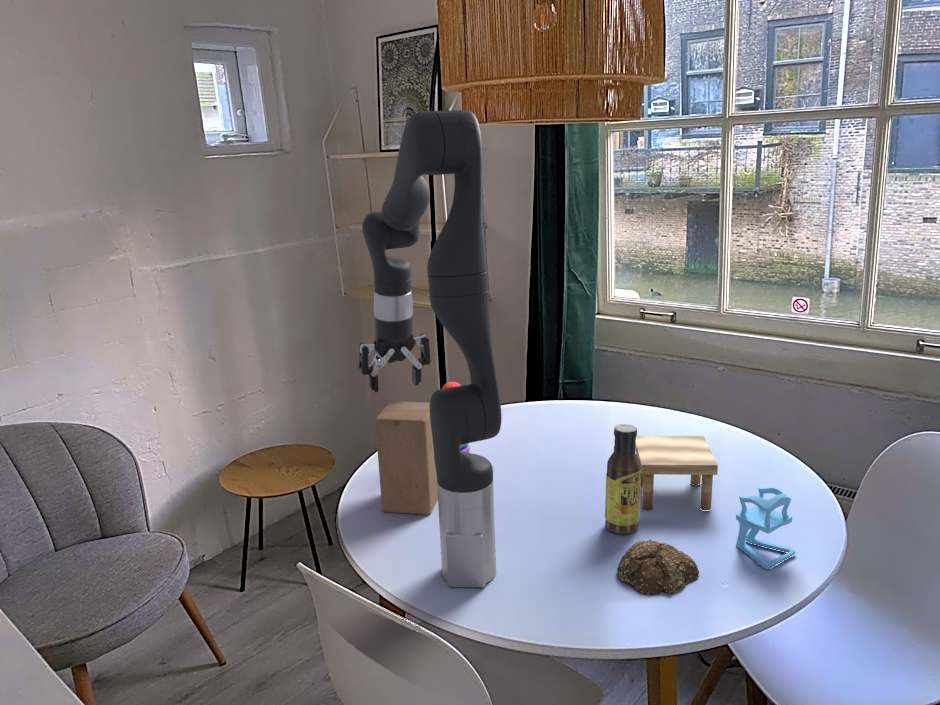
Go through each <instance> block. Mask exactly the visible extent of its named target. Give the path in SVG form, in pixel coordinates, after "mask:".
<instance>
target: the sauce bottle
mask: <svg viewBox="0 0 940 705" xmlns="http://www.w3.org/2000/svg"><path fill="white" fill-rule="evenodd" d="M613 436H614V440H613V442H614V446H613V452H611V453H612V454H611V455H610V456H609V458H608V459H607V465H606V474H605V477H606V478H605V502H604V504H605V506H604V518H605V522H604V523H605V524H604V525H605V528H606V529H607V530H608V531H610V532H612V533H615V534H618V535H619V534H621V535H625V534H626V535H627V534H632V533H634V532H636V530H637V529H638V528H639V521H640V510H641V509H640V508H641V504H640V503H641V488H642V487H641V486H642V485H641V463H640V460H639V458H638V457H637V455H636V451H635V450H636V448H635V441H636V436H638V428H637V427H636V426H635V425H633V424H629V423H628V424H627V423H622V424H616V425H615V426H614V430H613Z"/></svg>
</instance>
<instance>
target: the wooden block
mask: <svg viewBox="0 0 940 705" xmlns="http://www.w3.org/2000/svg"><path fill="white" fill-rule="evenodd" d="M374 422H375V425H374V426H375V435H376V436H375V438H376V447H377V448H376V450H377V460H378V471H379V472H378V473H379V476H378V477H379V486H380V500H381V509H382V510H381V512H383V513H393V514H395V513H396V514H411V515H422V516H424V515H426V516H427V515H428V516H429V515H432V514H431V513H432V512H433V509H434V508H435V506H436V504H437V503H438V490H437V473H436V467H435V460H434V448H433V438H432V430H431V422H430V402H426V401H425V402H423V401H420V402H419V401H396V400H390V401H389V402H388V403H387V404H386V405H385V407H384V408H383V409H382V410H381V411H380V413H378V415H377V416H376V417H375V418H374Z"/></svg>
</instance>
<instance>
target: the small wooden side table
mask: <svg viewBox="0 0 940 705" xmlns="http://www.w3.org/2000/svg"><path fill="white" fill-rule="evenodd" d="M635 448H636V450H635V454H636V455H637V457H638V458H639V460H640V463H641V486H642V497H641V498H642V500H641V501H642V503H641V509H642V510H643V511H644V512H645V511H646V512H652V511H653V510H654V483H655V482H654V479H655V475H670V476H671V475H672V476H673V475H677V476H678V475H681V476H682V475H685V476H686V475H687V476H689V475H690V483H691V484H694V485H698V484H700V483H701V484H700V485H701V486H700V505H699V507H700V508H701V509H702V510H710V509H711V510H712V498H713V477H714V476H718V469H719V467H718V466H719V464H718V462H717V460H716V458H715V456H714V454H713V451H712V450H711V448H710V446H709V444H708V442H707V440H706V438H705V435H637V436H636V441H635ZM691 484H690V485H691ZM694 485H693V486H694ZM700 508H699V509H700ZM702 510H701V511H702Z"/></svg>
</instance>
